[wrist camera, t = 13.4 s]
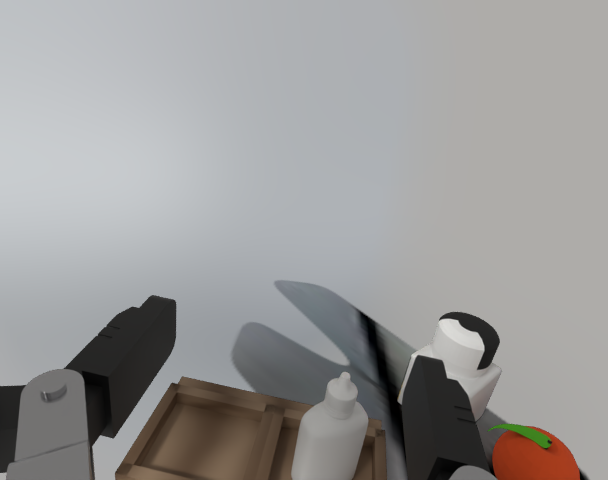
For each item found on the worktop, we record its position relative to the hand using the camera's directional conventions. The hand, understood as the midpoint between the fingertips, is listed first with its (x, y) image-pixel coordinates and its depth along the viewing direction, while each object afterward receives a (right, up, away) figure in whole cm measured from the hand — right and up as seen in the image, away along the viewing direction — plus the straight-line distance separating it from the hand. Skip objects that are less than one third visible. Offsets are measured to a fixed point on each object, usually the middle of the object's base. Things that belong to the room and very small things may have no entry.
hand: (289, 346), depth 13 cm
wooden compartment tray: (-3, -17, +23) cm, 29 cm away
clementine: (+21, -20, +25) cm, 38 cm away
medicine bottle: (+16, -16, +33) cm, 40 cm away
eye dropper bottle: (+2, -18, +22) cm, 29 cm away
